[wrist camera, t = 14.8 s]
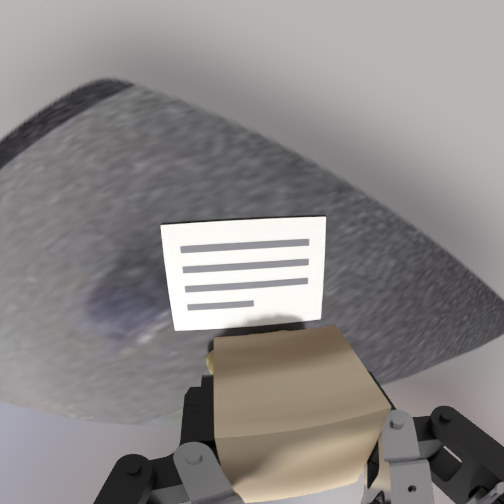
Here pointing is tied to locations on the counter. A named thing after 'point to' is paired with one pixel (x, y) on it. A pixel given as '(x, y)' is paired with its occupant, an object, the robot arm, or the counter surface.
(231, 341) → the maple cube
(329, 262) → the counter surface
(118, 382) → the counter surface
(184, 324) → the letter
